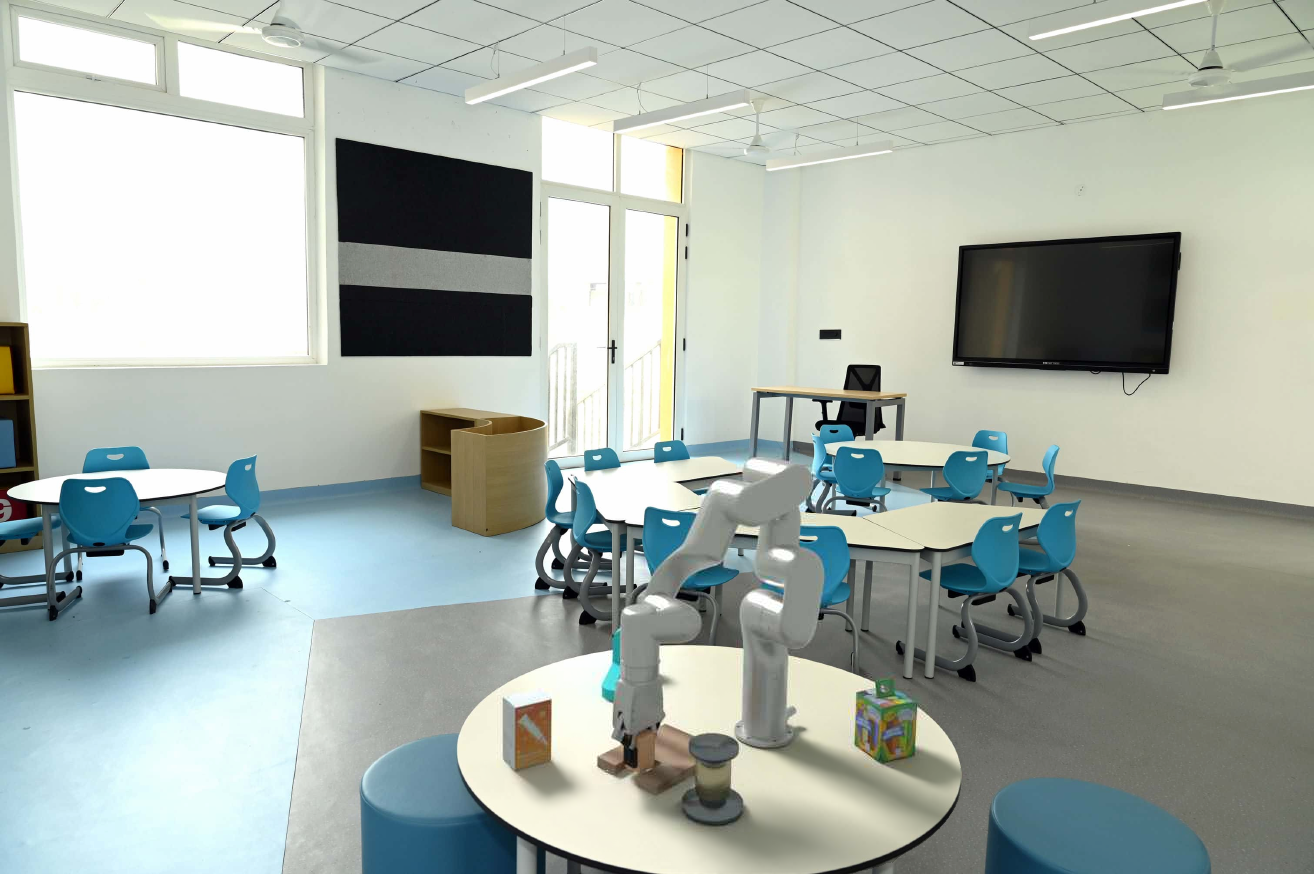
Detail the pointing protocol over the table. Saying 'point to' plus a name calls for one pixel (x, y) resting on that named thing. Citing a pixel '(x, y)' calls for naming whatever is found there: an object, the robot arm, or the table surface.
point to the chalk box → (885, 722)
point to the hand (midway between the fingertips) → (639, 760)
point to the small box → (527, 728)
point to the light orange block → (644, 751)
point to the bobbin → (713, 781)
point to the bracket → (612, 670)
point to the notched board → (658, 761)
